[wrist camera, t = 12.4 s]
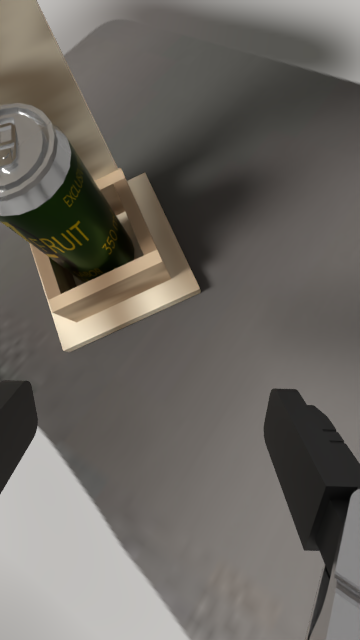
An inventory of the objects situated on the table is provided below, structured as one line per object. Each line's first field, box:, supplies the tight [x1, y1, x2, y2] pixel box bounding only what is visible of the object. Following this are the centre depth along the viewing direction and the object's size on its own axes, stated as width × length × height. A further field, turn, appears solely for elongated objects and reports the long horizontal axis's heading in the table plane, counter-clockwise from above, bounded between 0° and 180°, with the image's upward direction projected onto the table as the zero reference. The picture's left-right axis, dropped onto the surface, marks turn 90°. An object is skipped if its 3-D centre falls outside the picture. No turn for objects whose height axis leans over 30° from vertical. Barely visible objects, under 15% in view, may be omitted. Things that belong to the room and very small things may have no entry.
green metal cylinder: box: [0, 103, 134, 283], centre depth 19 cm, size 5×5×12 cm
